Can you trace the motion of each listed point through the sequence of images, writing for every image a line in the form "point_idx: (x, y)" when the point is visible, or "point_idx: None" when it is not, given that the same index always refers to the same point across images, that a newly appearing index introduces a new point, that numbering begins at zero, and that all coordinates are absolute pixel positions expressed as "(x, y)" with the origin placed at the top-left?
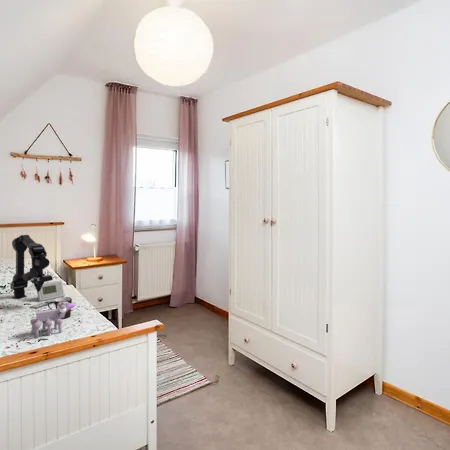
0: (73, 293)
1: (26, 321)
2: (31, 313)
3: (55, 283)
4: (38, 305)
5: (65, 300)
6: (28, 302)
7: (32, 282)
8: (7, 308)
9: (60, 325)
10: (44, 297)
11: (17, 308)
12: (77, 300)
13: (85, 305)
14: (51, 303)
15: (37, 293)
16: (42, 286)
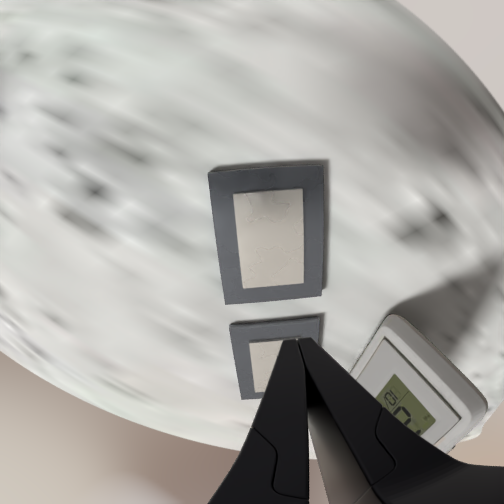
0: (315, 453)
1: (8, 12)
2: (110, 72)
3: None
4: (265, 231)
5: None
6: (451, 258)
7: (488, 471)
8: (463, 80)
9: None
10: (376, 359)
11: (401, 100)
12: (160, 417)
13: (37, 368)
14: (230, 328)
15: (439, 353)
16: (437, 427)
